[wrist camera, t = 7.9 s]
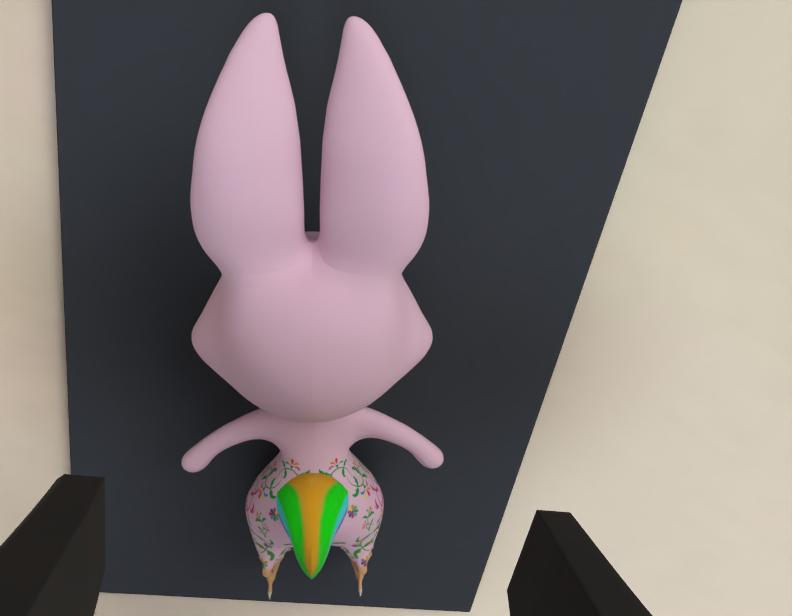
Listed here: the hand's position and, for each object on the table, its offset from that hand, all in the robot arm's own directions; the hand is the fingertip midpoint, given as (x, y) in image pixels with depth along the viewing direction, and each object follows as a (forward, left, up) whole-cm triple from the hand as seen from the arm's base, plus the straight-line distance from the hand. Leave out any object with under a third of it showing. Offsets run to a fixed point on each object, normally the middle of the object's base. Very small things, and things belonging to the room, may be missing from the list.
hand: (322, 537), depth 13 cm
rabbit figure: (0, 0, -7) cm, 7 cm away
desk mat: (0, 0, -7) cm, 7 cm away
